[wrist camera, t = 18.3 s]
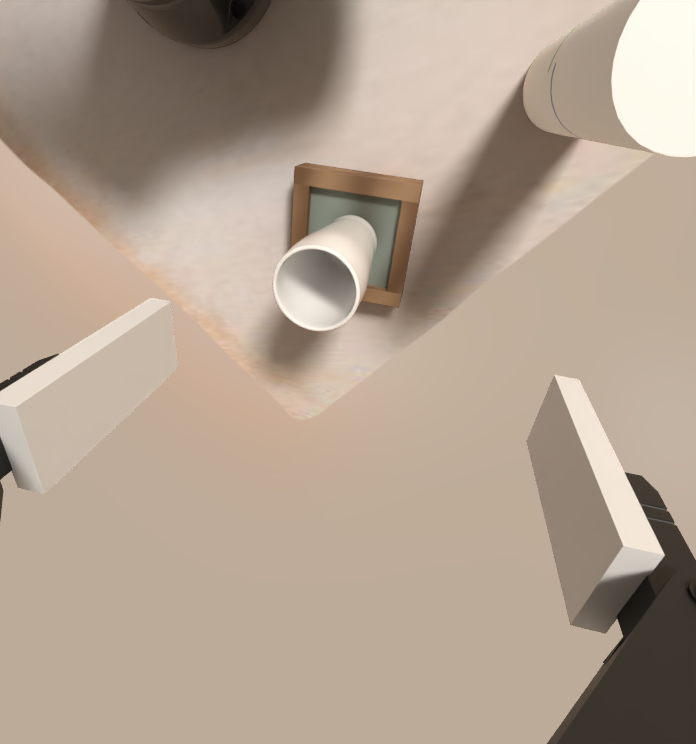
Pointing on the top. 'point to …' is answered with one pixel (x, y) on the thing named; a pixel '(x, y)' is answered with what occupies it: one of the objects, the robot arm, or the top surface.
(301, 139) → the top surface
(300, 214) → the wooden tray
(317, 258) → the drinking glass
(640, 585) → the robot arm
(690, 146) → the cylindrical container
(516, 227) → the top surface
